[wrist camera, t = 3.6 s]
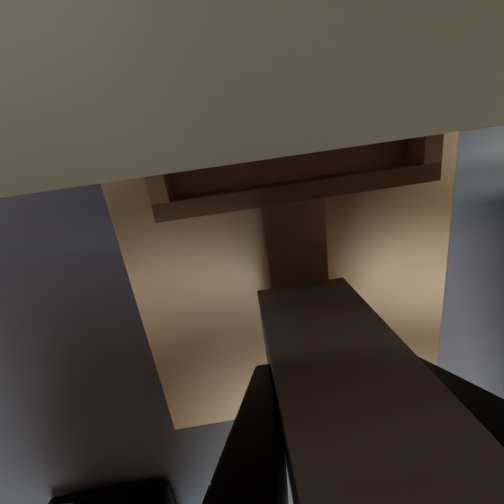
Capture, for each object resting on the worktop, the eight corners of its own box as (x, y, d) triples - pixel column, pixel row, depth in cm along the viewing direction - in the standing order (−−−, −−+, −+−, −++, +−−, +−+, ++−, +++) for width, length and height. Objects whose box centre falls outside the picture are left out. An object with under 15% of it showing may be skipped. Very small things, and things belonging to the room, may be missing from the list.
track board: (415, 362, 14) (435, 385, 13) (180, 402, 14) (175, 429, 13) (457, -327, 7) (512, -444, 6) (-13, -280, 7) (-76, -392, 6)
